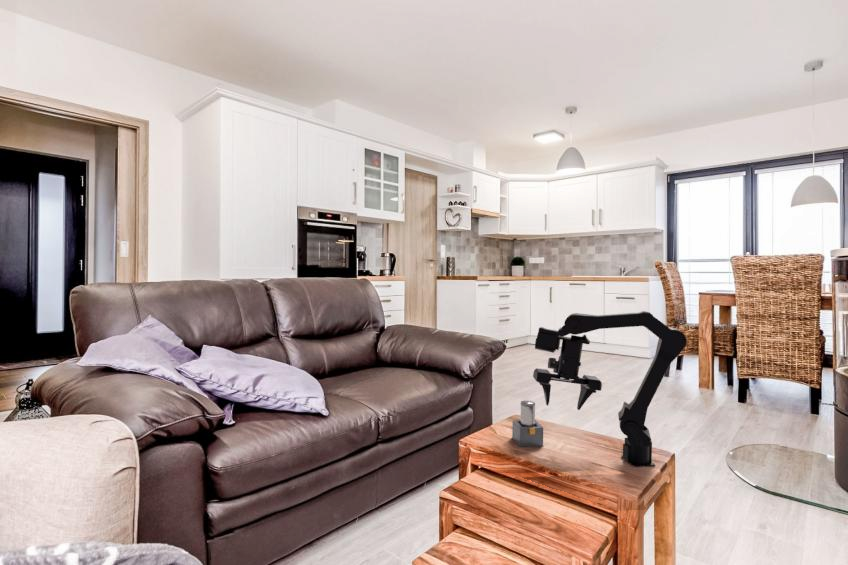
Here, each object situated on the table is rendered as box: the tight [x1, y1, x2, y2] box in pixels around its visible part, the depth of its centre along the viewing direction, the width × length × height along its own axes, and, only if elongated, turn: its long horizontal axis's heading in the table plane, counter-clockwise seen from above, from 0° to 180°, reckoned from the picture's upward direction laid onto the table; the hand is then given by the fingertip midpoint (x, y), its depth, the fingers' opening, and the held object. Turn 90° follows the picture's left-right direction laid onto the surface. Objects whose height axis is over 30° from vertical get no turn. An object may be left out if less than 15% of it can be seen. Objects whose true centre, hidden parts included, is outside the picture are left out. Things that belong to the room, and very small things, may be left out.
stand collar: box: [511, 419, 544, 448], centre depth 133 cm, size 8×8×6 cm
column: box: [520, 400, 536, 427], centre depth 134 cm, size 4×4×12 cm
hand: (562, 407), depth 130 cm, fingers open, 9 cm apart
